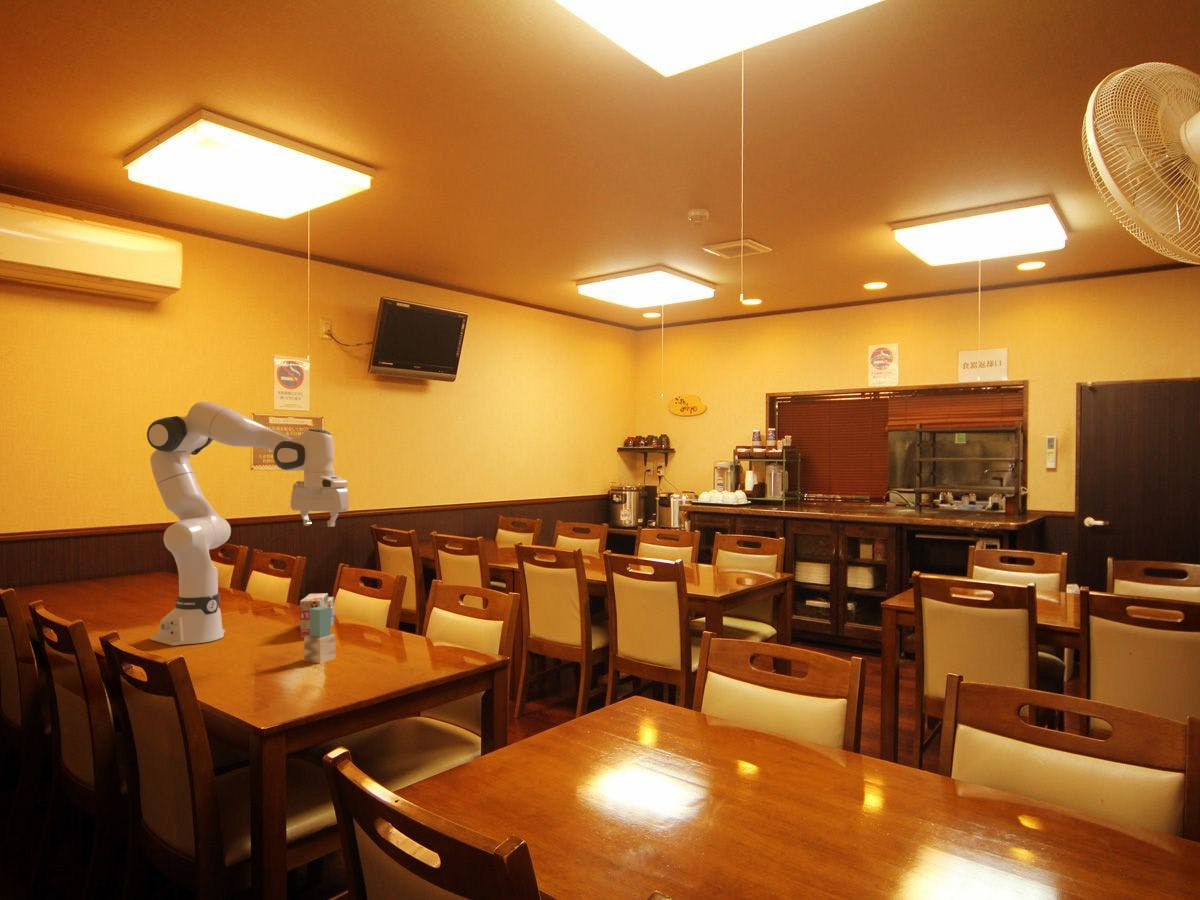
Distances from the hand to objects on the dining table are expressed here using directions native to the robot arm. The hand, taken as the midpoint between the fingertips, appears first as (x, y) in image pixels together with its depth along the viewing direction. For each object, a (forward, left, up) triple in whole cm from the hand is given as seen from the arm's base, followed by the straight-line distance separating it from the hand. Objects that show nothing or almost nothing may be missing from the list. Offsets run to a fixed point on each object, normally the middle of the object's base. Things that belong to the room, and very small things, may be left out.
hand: (319, 525), depth 233 cm
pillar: (+11, -12, -30) cm, 35 cm away
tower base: (+11, -12, -37) cm, 41 cm away
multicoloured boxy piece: (-15, +16, -38) cm, 43 cm away
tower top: (+11, -12, -34) cm, 38 cm away
